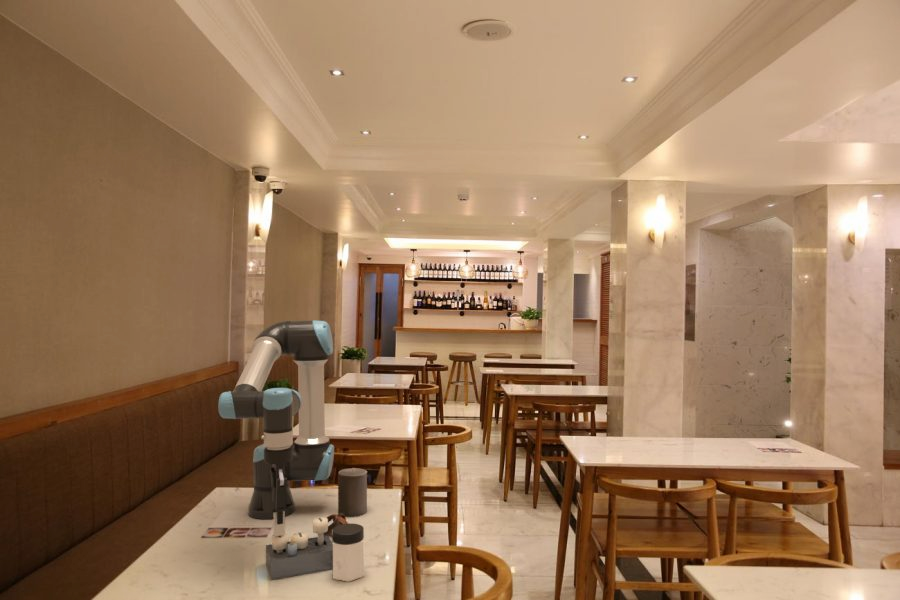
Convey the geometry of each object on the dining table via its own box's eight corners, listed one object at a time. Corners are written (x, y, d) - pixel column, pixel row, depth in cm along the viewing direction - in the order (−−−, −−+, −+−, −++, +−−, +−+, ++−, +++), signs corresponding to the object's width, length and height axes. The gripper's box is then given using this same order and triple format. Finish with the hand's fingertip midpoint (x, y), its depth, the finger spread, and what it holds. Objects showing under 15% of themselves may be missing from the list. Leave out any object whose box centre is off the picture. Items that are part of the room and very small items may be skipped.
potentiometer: (287, 553, 166) (286, 536, 166) (296, 551, 167) (296, 534, 167) (288, 556, 164) (288, 539, 164) (297, 555, 165) (297, 537, 165)
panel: (266, 563, 172) (265, 545, 172) (327, 552, 178) (327, 535, 178) (271, 580, 162) (271, 560, 162) (336, 568, 168) (336, 549, 168)
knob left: (271, 564, 169) (270, 534, 169) (286, 561, 171) (285, 531, 171) (273, 570, 166) (272, 539, 166) (288, 567, 167) (288, 536, 167)
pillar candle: (338, 518, 206) (339, 472, 206) (337, 508, 215) (337, 464, 215) (368, 516, 208) (368, 471, 208) (365, 506, 218) (365, 463, 218)
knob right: (312, 547, 174) (311, 518, 174) (326, 544, 175) (326, 515, 175) (314, 552, 170) (314, 522, 170) (329, 550, 172) (329, 520, 171)
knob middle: (291, 562, 171) (291, 533, 171) (306, 560, 173) (306, 530, 173) (294, 568, 168) (294, 538, 168) (309, 565, 169) (309, 535, 169)
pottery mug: (351, 546, 184) (337, 524, 182) (324, 558, 186) (309, 537, 184) (359, 521, 196) (345, 501, 194) (333, 533, 197) (320, 513, 196)
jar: (325, 578, 162) (324, 532, 162) (341, 565, 170) (341, 521, 170) (355, 583, 159) (355, 536, 159) (371, 570, 167) (370, 525, 166)
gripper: (260, 443, 173) (261, 528, 173) (266, 453, 161) (267, 545, 161) (288, 440, 175) (289, 524, 176) (296, 450, 163) (297, 540, 164)
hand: (279, 534), depth 168 cm, fingers closed
